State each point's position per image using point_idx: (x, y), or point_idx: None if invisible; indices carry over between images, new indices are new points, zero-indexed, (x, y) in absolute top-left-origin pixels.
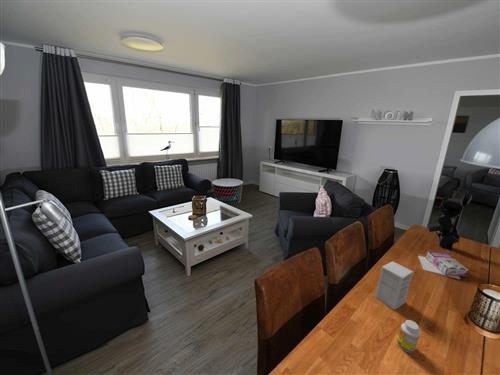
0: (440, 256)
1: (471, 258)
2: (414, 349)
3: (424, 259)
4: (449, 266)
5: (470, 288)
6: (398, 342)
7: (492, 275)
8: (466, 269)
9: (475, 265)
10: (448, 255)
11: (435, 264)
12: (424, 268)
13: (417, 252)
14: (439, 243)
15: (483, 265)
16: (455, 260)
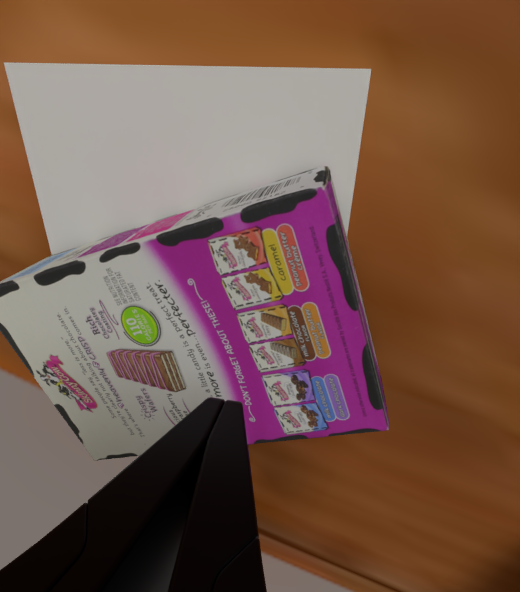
0: (225, 320)
1: (500, 565)
2: None
3: (278, 136)
4: (12, 324)
5: (3, 364)
6: None
7: (272, 548)
8: (86, 446)
9: (378, 534)
10: (314, 422)
11: (152, 223)
12: (33, 73)
13: (503, 87)
14: (177, 443)
15: (400, 573)
16: None
